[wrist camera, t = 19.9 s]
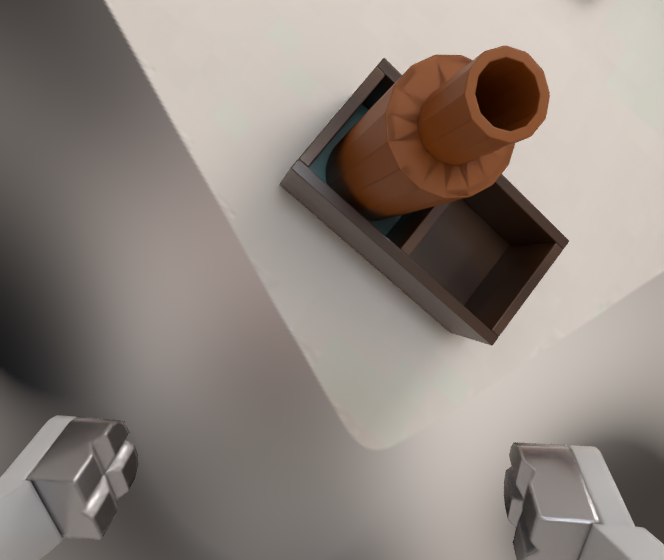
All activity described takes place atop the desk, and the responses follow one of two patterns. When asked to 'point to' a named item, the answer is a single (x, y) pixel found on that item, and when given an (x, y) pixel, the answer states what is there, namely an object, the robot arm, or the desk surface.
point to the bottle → (439, 133)
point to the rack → (437, 235)
